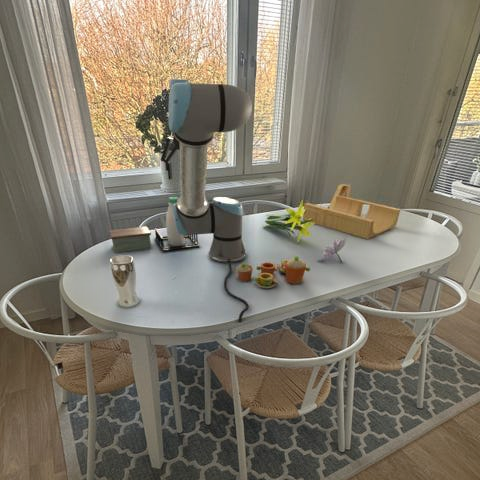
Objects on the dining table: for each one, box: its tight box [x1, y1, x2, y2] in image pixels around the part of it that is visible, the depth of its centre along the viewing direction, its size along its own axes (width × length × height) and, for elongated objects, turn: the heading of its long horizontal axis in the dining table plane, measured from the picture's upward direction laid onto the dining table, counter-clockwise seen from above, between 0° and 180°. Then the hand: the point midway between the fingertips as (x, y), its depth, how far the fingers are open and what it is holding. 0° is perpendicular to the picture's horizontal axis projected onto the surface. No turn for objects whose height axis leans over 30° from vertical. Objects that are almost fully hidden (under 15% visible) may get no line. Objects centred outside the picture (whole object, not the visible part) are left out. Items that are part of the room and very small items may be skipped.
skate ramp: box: [302, 180, 402, 240], centre depth 184 cm, size 40×35×16 cm
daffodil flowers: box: [262, 200, 316, 243], centre depth 163 cm, size 17×15×35 cm
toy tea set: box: [236, 255, 311, 289], centre depth 125 cm, size 26×16×10 cm, turn 112°
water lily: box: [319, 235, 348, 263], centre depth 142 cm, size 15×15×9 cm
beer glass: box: [109, 254, 140, 308], centre depth 107 cm, size 7×7×15 cm
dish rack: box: [154, 227, 200, 253], centre depth 154 cm, size 17×16×6 cm
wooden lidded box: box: [108, 226, 152, 254], centre depth 148 cm, size 9×16×7 cm, turn 114°
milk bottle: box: [165, 196, 186, 247], centre depth 150 cm, size 8×8×20 cm
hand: (185, 180), depth 152 cm, fingers open, 13 cm apart
